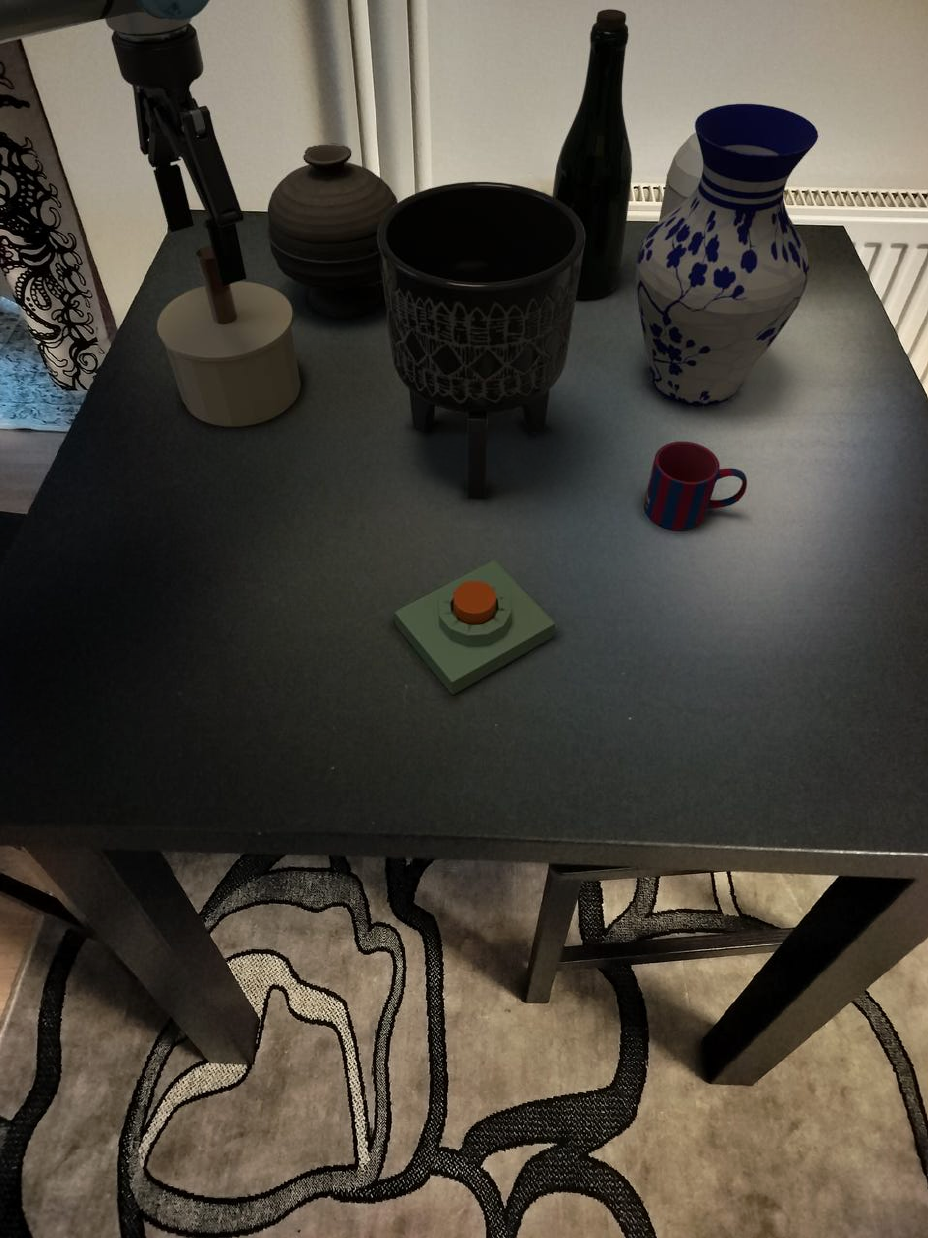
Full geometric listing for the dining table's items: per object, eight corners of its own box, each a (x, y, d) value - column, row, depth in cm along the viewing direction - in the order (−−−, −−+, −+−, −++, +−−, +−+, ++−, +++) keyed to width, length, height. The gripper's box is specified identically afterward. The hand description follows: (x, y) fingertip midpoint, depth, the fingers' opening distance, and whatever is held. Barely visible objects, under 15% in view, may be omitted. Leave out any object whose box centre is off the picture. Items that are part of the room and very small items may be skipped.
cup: (648, 483, 97) (659, 436, 92) (738, 500, 96) (754, 453, 90) (639, 523, 93) (650, 477, 88) (732, 542, 92) (749, 495, 86)
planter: (361, 466, 99) (333, 247, 78) (452, 377, 109) (448, 163, 89) (508, 530, 93) (520, 310, 72) (590, 429, 103) (621, 211, 82)
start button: (469, 631, 80) (469, 620, 78) (445, 604, 82) (445, 592, 80) (504, 612, 81) (504, 600, 80) (479, 586, 83) (479, 574, 82)
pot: (267, 266, 125) (253, 119, 109) (389, 261, 128) (392, 119, 113) (280, 339, 114) (266, 188, 98) (412, 332, 118) (419, 185, 102)
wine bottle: (617, 263, 126) (656, -3, 100) (618, 303, 120) (660, 30, 94) (546, 260, 127) (567, -6, 101) (542, 299, 120) (564, 26, 94)
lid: (192, 383, 94) (170, 307, 87) (139, 316, 102) (114, 242, 95) (317, 336, 100) (306, 261, 93) (257, 276, 108) (243, 203, 100)
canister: (213, 442, 102) (193, 375, 94) (164, 380, 109) (142, 313, 102) (321, 398, 107) (310, 331, 99) (268, 341, 114) (254, 275, 107)
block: (452, 695, 80) (451, 671, 77) (395, 625, 85) (392, 600, 82) (553, 636, 84) (557, 611, 81) (493, 573, 89) (494, 547, 86)
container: (742, 304, 120) (784, 155, 104) (645, 293, 121) (672, 144, 106) (744, 255, 128) (783, 109, 112) (653, 245, 129) (679, 100, 114)
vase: (725, 326, 116) (791, 80, 93) (798, 411, 105) (894, 156, 81) (595, 350, 113) (629, 101, 89) (656, 441, 102) (713, 184, 78)
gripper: (251, 61, 72) (290, 294, 89) (140, -18, 85) (192, 199, 101) (167, 80, 69) (223, 316, 86) (65, -4, 82) (131, 216, 99)
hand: (206, 253), depth 94 cm, fingers open, 13 cm apart
